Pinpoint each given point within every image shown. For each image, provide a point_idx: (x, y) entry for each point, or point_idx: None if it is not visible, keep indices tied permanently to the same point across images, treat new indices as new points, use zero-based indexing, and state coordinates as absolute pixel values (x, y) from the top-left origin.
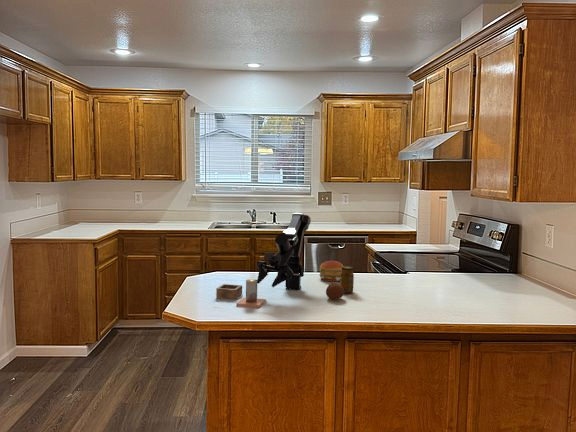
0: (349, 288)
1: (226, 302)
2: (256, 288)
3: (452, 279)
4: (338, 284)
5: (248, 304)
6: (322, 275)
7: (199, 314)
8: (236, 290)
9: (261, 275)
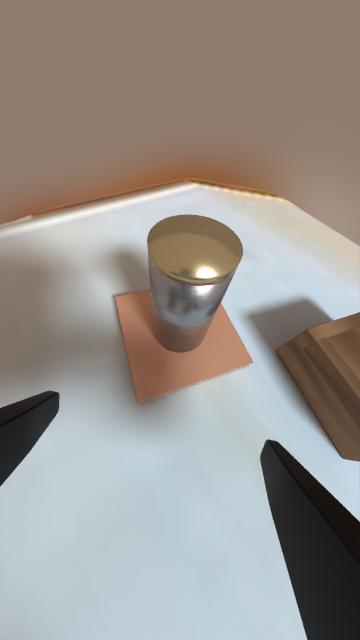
0: None
1: (268, 305)
2: (150, 284)
3: None
4: None
5: None
6: None
7: (223, 206)
8: (310, 341)
9: (351, 602)
